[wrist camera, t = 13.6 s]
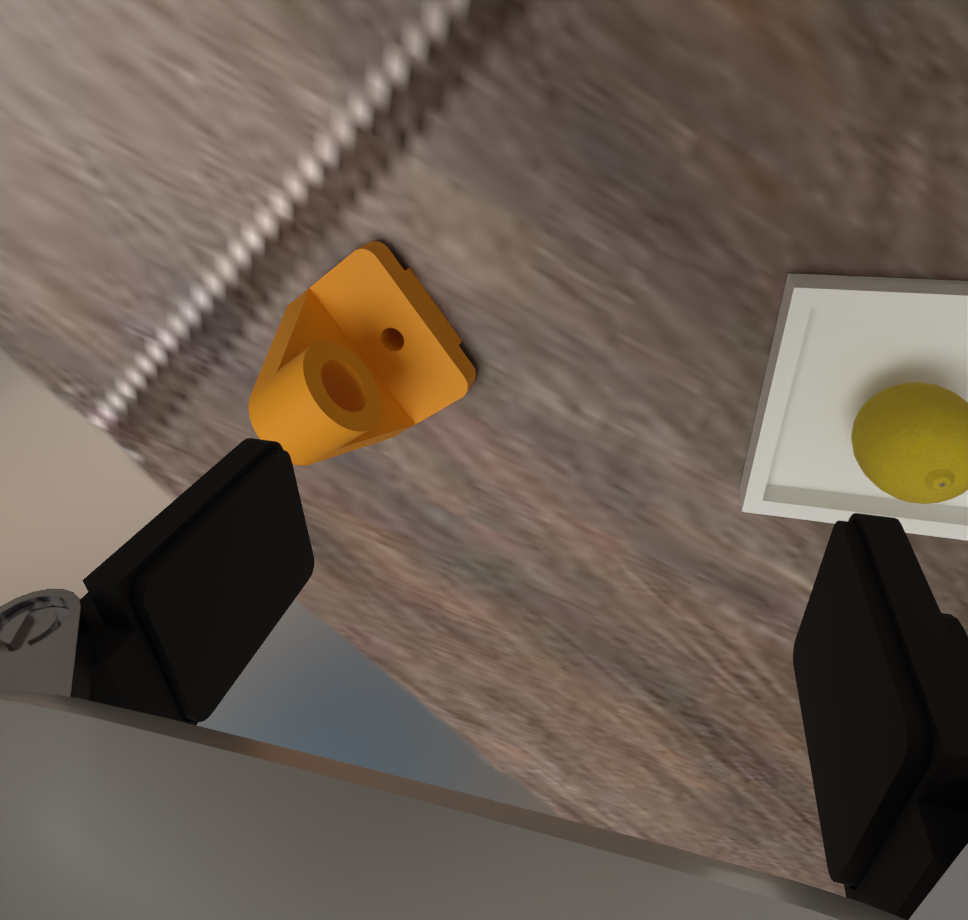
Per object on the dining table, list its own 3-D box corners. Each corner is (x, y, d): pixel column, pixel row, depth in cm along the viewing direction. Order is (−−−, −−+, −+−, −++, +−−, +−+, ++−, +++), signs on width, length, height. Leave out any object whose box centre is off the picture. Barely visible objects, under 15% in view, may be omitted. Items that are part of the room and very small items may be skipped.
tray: (787, 273, 34) (794, 287, 32) (1103, 286, 30) (1133, 303, 28) (739, 489, 41) (741, 511, 39) (987, 518, 38) (1004, 545, 36)
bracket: (485, 372, 42) (422, 470, 32) (407, 418, 45) (329, 518, 36) (383, 231, 38) (279, 291, 29) (308, 292, 42) (193, 365, 32)
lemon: (822, 436, 37) (852, 516, 31) (864, 349, 34) (907, 418, 28) (923, 458, 36) (975, 545, 30) (975, 371, 33) (1046, 447, 27)
